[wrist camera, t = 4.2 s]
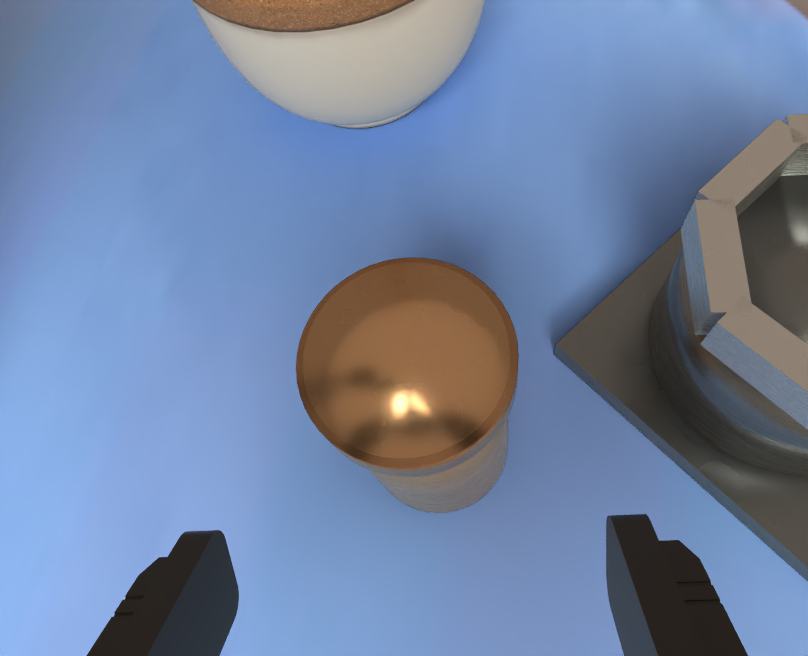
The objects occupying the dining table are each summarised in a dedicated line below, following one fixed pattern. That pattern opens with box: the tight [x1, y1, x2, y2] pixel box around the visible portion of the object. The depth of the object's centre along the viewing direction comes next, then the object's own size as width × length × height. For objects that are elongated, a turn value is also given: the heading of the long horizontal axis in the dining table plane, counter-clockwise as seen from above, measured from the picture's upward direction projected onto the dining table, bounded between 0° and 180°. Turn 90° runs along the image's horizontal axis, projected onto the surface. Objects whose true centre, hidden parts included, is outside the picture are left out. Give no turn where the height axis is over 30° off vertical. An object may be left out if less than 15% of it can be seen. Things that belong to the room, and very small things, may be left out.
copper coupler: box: [296, 258, 518, 513], centre depth 19 cm, size 5×5×9 cm
